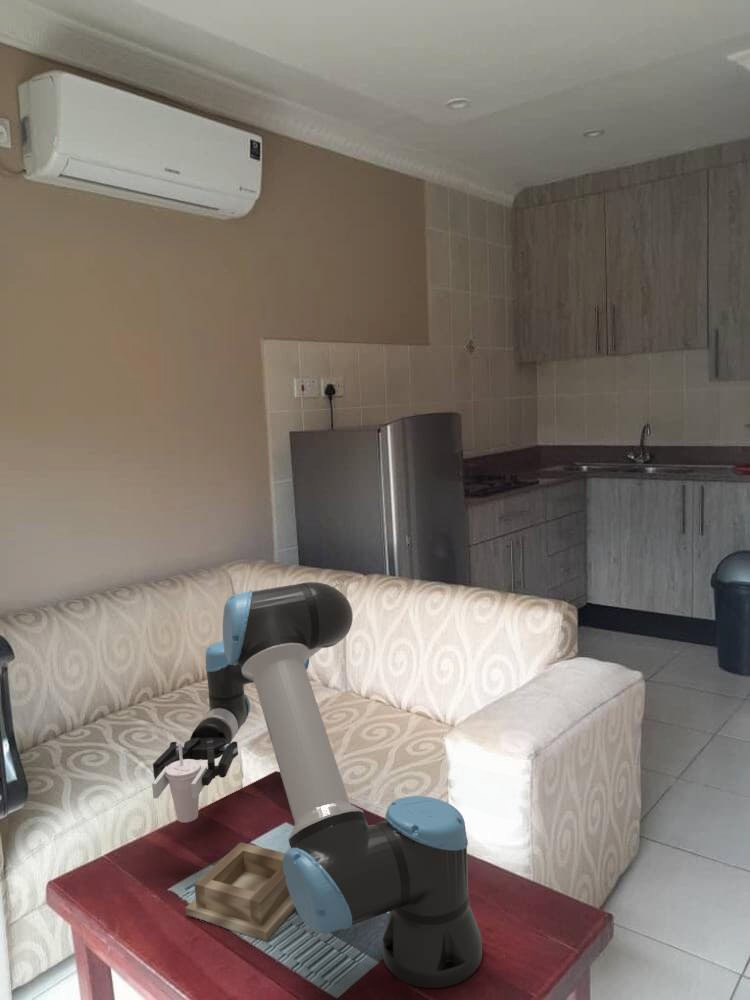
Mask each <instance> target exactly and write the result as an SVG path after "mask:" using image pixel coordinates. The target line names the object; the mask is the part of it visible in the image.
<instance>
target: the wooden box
mask: <svg viewBox="0 0 750 1000" xmlns="http://www.w3.org/2000/svg"><path fill="white" fill-rule="evenodd" d="M285 853H286V852H285ZM285 853H284V852H282V851H278V850H273V849H271V848H270V849H268V848H265V847H262V846H261V847H260V846H257V845H253V844H250V843H246V842H245V843H244V842H241V841H240V842H239V843H238V844H236V846H235V847H233V849H231V850H230V851H229V852H228V853H227V854H226V855H225V856H224V857H222V858H221V859H219V861H218V862H216V864H215V865H214V866H212V867H211V868H210V869H209V870H208V871H207V872H206V873H205V874H203V876H201V878H199V879H198V880H197V881H196V882H195V883H194V894H195V898H194V899H193V900H192V901H191V902H189V904H188V905H187V906H185V916H186V915H190V916H193V917H196V918H199V919H201V920H202V919H203V920H205V921H207V922H211V923H213V924H212V925H214V924H215V925H214V926H217V927H220V926H221V928H224V929H227V930H231V931H233V932H237V933H239V934H243V935H247V936H249V937H252V938H257V939H259V940H263V941H266V942H267V941H268V940H269V939H270V938H271V937H272V936H273V934H274V933H275V932H276V931H277V930H278V929H279V927H280V926H281V925H282V924H283V923H284V922H285V920H286V919H287V918H288V917H289V916H290V915H291V914H292V912H294V910H296V908H295V906H294V904H293V901H292V899H291V896H290V893H289V891H288V888H287V884H286V880H285V878H286V876H285V873H284V870H283V857H284V855H285ZM201 920H200V921H201ZM207 922H206V923H207ZM277 928H278V929H277Z"/></svg>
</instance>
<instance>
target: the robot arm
mask: <svg viewBox="0 0 750 1000" xmlns="http://www.w3.org/2000/svg"><path fill="white" fill-rule="evenodd" d="M223 607H224V608H223V616H222V641H218V642H214V643H212V644H210V645H208V646H207V649H206V651H205V670H206V676H207V677H206V678H207V679H206V680H207V686H208V702H209V705H208V706H209V711H208V712H207V713H206V715H205V716H204V717H203V718H202V719H201V721H200V722H199V723H198V725H197V726H196V727H195V728H194V730H193V732H192V733H191V736H190V738H189V740H187V741H185V742H184V744H181V746H182V756H183V760H184V759H194V760H197V761H200V760H201V761H207V762H206V763H207V766H206V765H203V766H201V770H200V771H199V773H198V774H197V776H196V777H195V779H194V780H193V782H192V783H191V790H192V798H197V797H198V795H199V796H200V793H201V792H202V791H203V789H204V787H206V786H209V785H210V784H211V782H212V781H213V780H214V779H216V777H219V778H222V779H223V778H225V777H226V776H227V774H228V772H229V770H230V768H231V765H232V762H233V761H234V759H235V758H237V756H238V755H239V749H238V741H233V739H234V738H235V737H236V735H237V734H238V731H239V730H240V728H241V727H242V726H243V725H244V724H245V723H246V720H247V719H248V717H249V713H250V710H251V703H250V700H249V698H248V696H247V694H245V685H248V684H253V683H254V686H255V689H256V692H257V696H258V699H259V703H260V708H261V710H262V713H263V717H264V721H265V724H266V728H267V730H268V735H269V739H270V742H271V746H272V748H273V753H274V756H275V759H276V763H277V767H278V770H279V773H280V777H281V779H282V784H283V788H284V791H285V793H286V794H285V795H286V797H287V801H288V804H289V808H290V812H291V815H292V818H293V822H294V825H293V826H294V827H293V828H292V831H291V833H290V835H289V837H288V839H287V840H288V843H289V846H290V848H289V849H288V850H287V851H285V855H284V857H283V870H284V873H285V876H286V878H285V880H286V884H287V888H288V891H289V893H290V896H291V899H292V901H293V904H294V906H295V910H296V912H297V914H298V915H299V917H300V919H301V920H302V922H303V923H304V924H305V926H307V928H308V929H310V930H311V931H312V932H314V933H315V934H319V935H326V934H329V933H332V932H336V931H340V930H347V929H349V928H350V927H352V926H353V925H356V924H359V923H362V922H365V921H367V920H369V919H370V920H371V919H373V918H376V917H378V916H381V915H384V914H387V913H388V916H387V919H386V923H385V924H384V925H385V926H384V929H383V932H382V935H381V936H382V937H381V946H382V947H381V949H382V959H383V962H384V965H385V966H386V968H387V969H388V970H389V972H390V973H391V974H392V975H393V976H395V977H396V978H398V980H400V981H402V982H404V983H406V984H408V985H411V986H413V987H420V988H426V989H441V988H448V987H451V986H454V985H458V984H460V983H462V982H463V981H465V980H467V979H469V978H470V977H471V976H472V975H473V974H474V973H475V972H476V971H477V969H478V968H479V966H480V964H481V963H482V958H483V939H482V933H481V931H480V928H479V926H478V923H477V921H476V918H475V915H474V913H473V910H472V908H471V906H470V900H469V898H470V897H469V878H468V876H469V874H468V870H469V869H468V849H467V848H468V845H469V841H468V836H467V830H466V829H467V828H466V823H465V822H466V821H465V820H464V817H463V814H461V813H462V812H460V810H458V808H456V807H455V806H454V805H452V804H450V803H449V802H447V801H445V800H443V799H442V800H441V799H438V798H435V797H432V796H425V795H424V796H423V795H422V796H421V795H411V796H404V797H400V798H397V799H396V800H394V801H392V802H391V803H390V805H388V807H387V808H386V809H387V810H386V812H385V819H386V820H383V821H381V822H377V823H374V824H373V823H372V824H370V825H369V823H368V821H367V818H366V816H365V813H364V810H362V809H361V808H359V807H357V806H354V805H353V804H352V803H351V802H350V800H349V796H348V794H347V791H346V788H345V784H344V782H343V778H342V776H341V772H340V770H339V769H340V768H339V767H338V764H337V760H336V757H335V754H334V752H333V749H332V745H331V742H330V739H329V736H328V735H329V734H328V733H327V730H326V726H325V723H324V721H323V716H322V714H321V712H320V709H319V706H318V702H317V699H316V697H315V694H314V689H313V687H312V685H311V681H310V679H309V675H308V671H307V670H308V669H309V664H310V658H312V656H315V654H316V653H318V652H319V651H321V649H326V648H327V649H328V648H330V647H333V646H335V645H337V644H338V643H339V642H341V641H343V639H345V637H346V636H347V635H348V634H349V632H350V629H351V627H352V625H353V620H354V619H353V609H352V606H351V604H350V601H349V600H348V599H347V597H346V596H345V595H344V593H342V592H341V591H340V590H339V589H337V588H336V587H334V586H331V585H329V584H326V583H322V582H318V581H315V582H314V581H308V582H301V583H297V584H290V585H284V586H277V587H270V588H265V589H260V590H259V589H258V590H253V589H252V590H251V589H250V590H249V591H247V592H241V593H236V594H233V595H230V597H229V598H228V599H227V600H226V602H225V605H224V606H223ZM220 757H221V758H220ZM218 758H220V759H219V762H218V764H217V765H216V759H218ZM179 760H180V758H179V748H178V743H177V741H171V742H169V747H168V748H167V749H166V750H165V751H164V752H163V753H162V754H161V755H160V756H159V757H158V758H157V759H156V760H155V761H154V762H153V763H152V770H153V777H154V781H153V782H152V783H151V787H152V797H153V799H159V797H160V796H161V795H162V793H164V791H165V789H166V788H167V786H168V785H169V781H168V778H167V777H166V776H165V773H166V772H165V769H166V767H167V766H168V765H170V764H171V763H173V762H176V761H179Z"/></svg>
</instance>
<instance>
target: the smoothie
mask: <svg viewBox="0 0 750 1000" xmlns="http://www.w3.org/2000/svg"><path fill="white" fill-rule="evenodd" d="M177 744H178V748H179V758H180V760H179V761H176V762H173V763H171V764H170V765H168V766H167V767H166V769H165V772H166V773H165V776H166V777H167V778H168V781H169V784H168V785H169V789H170V793H171V798H172V801H173V802H172V803H173V806H174V810H175V815H176V818H177V821H178V822H180V823H190V822H193V821H195V820H196V819H198V817H199V803H200V802H199V801H200V800H199V799H200V794H199V795H198V797H197V798H192V790H191V783H192V782H193V780H194V779H195V777H196V776H197V774H198V773H199V771H200V770H201V768H202V763H201V761H200V760H194V759H184V760H183V756H182V746H181V745H182V742H178V743H177Z"/></svg>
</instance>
